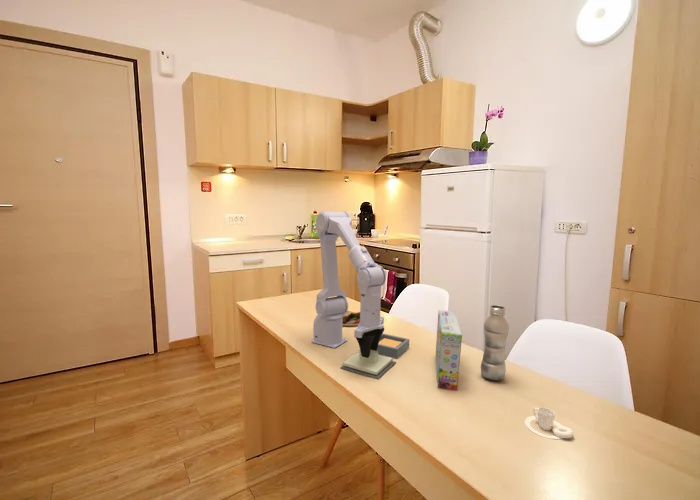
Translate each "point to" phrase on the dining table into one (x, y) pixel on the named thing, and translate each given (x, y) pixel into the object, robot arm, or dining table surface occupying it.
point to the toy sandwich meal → (351, 319)
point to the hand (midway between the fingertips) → (369, 354)
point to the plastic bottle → (495, 344)
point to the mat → (370, 373)
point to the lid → (368, 362)
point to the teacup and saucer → (548, 424)
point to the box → (392, 345)
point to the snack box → (448, 350)
